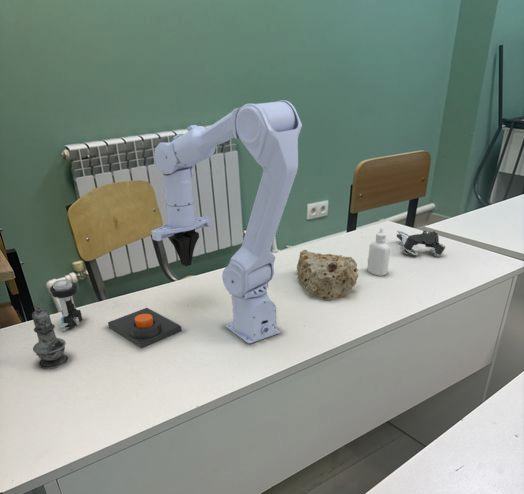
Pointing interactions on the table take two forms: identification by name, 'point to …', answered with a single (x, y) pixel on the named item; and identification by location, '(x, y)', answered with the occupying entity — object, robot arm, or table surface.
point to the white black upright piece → (67, 303)
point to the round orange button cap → (144, 321)
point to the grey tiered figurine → (48, 341)
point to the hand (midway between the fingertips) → (186, 264)
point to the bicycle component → (420, 242)
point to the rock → (326, 274)
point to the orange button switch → (144, 335)
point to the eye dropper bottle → (378, 255)
